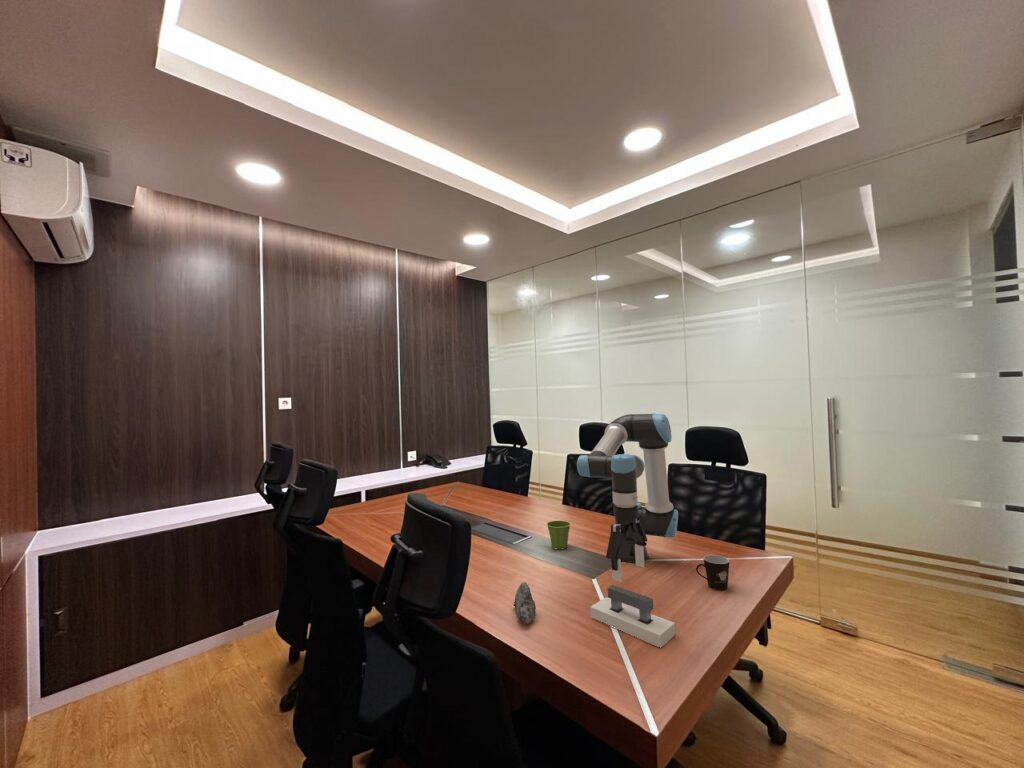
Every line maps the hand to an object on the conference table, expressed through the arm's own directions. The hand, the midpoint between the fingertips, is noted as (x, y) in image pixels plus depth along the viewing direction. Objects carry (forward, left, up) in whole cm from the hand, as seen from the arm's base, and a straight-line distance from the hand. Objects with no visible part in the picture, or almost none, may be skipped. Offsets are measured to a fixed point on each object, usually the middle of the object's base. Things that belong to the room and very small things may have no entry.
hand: (628, 572), depth 129 cm
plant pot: (-61, +38, -16) cm, 73 cm away
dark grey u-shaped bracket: (0, 0, -16) cm, 16 cm away
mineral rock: (-29, -19, -16) cm, 38 cm away
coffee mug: (+8, +44, -16) cm, 47 cm away
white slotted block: (0, 0, -16) cm, 16 cm away
